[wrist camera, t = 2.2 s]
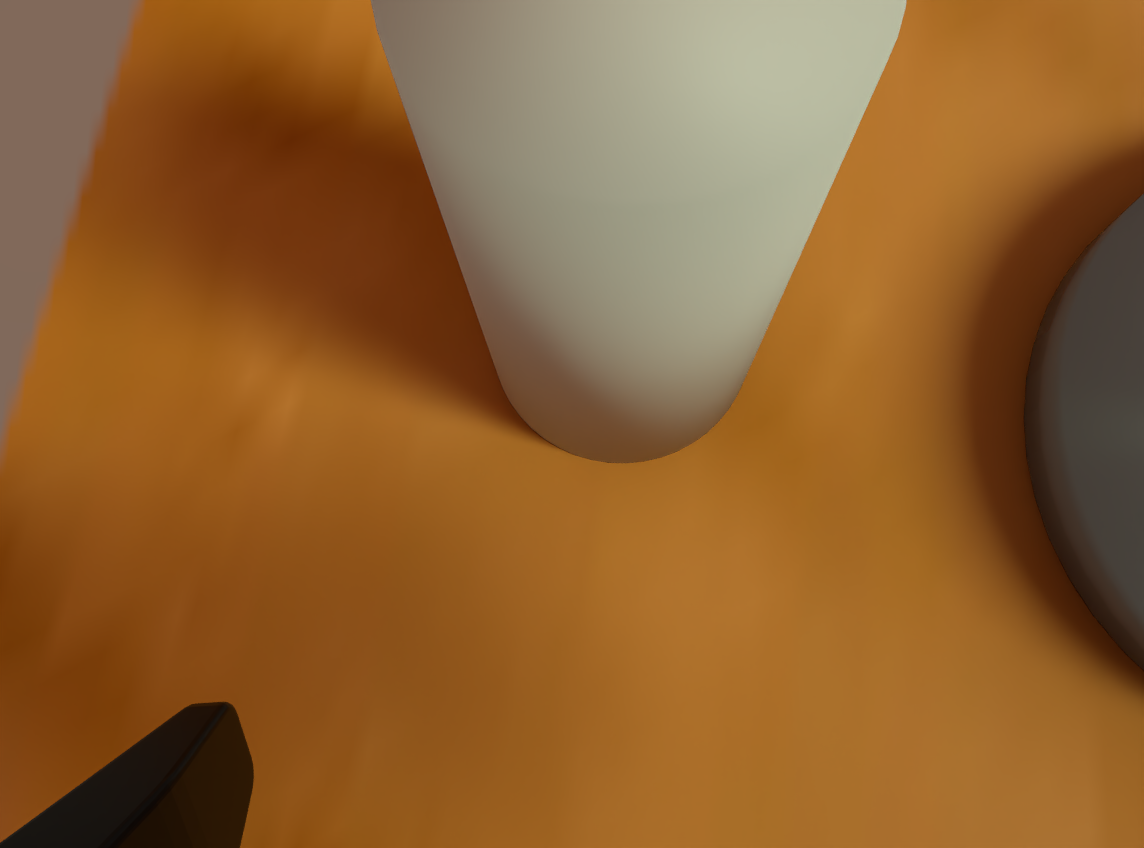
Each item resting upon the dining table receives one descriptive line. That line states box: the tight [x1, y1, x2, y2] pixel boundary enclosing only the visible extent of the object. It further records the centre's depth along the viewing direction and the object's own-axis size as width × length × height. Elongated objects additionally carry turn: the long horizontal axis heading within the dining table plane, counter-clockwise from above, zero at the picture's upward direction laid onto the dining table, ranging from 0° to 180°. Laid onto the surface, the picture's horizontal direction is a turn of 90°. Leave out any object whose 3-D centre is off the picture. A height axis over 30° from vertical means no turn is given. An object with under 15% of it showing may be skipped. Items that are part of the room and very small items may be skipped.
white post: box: [371, 0, 906, 463], centre depth 18 cm, size 6×6×13 cm
